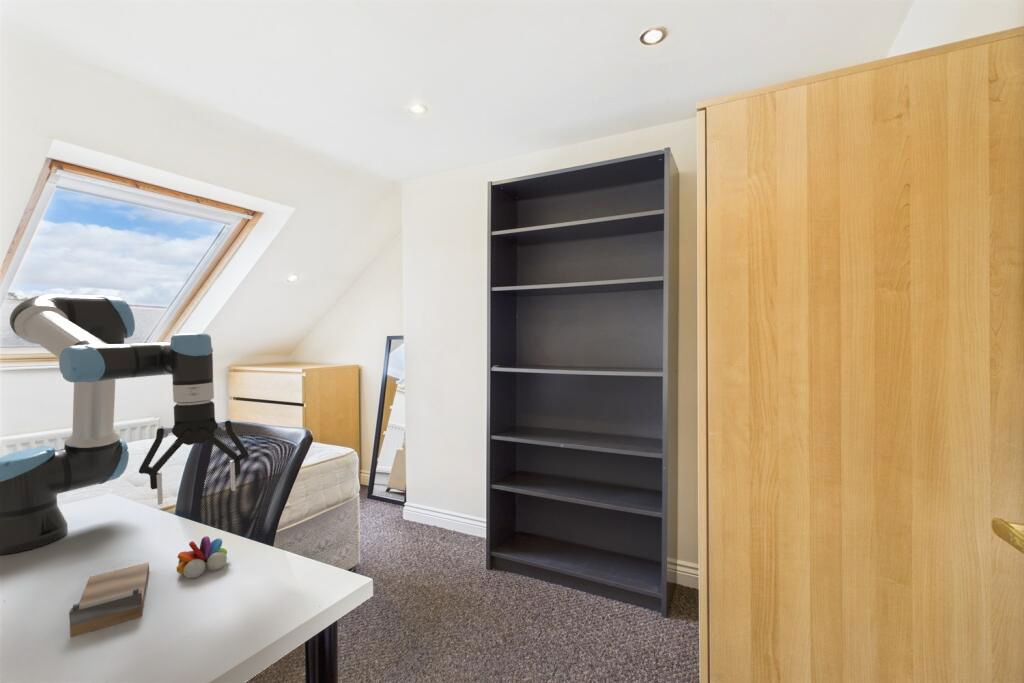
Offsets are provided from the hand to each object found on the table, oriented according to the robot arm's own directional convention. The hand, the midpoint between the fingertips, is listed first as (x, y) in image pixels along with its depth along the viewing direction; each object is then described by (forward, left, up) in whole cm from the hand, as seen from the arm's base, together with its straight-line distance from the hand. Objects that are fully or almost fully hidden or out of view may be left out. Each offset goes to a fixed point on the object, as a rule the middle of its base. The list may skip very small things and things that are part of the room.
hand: (198, 495), depth 104 cm
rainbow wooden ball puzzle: (0, 0, -17) cm, 17 cm away
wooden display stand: (+4, -15, -17) cm, 23 cm away
